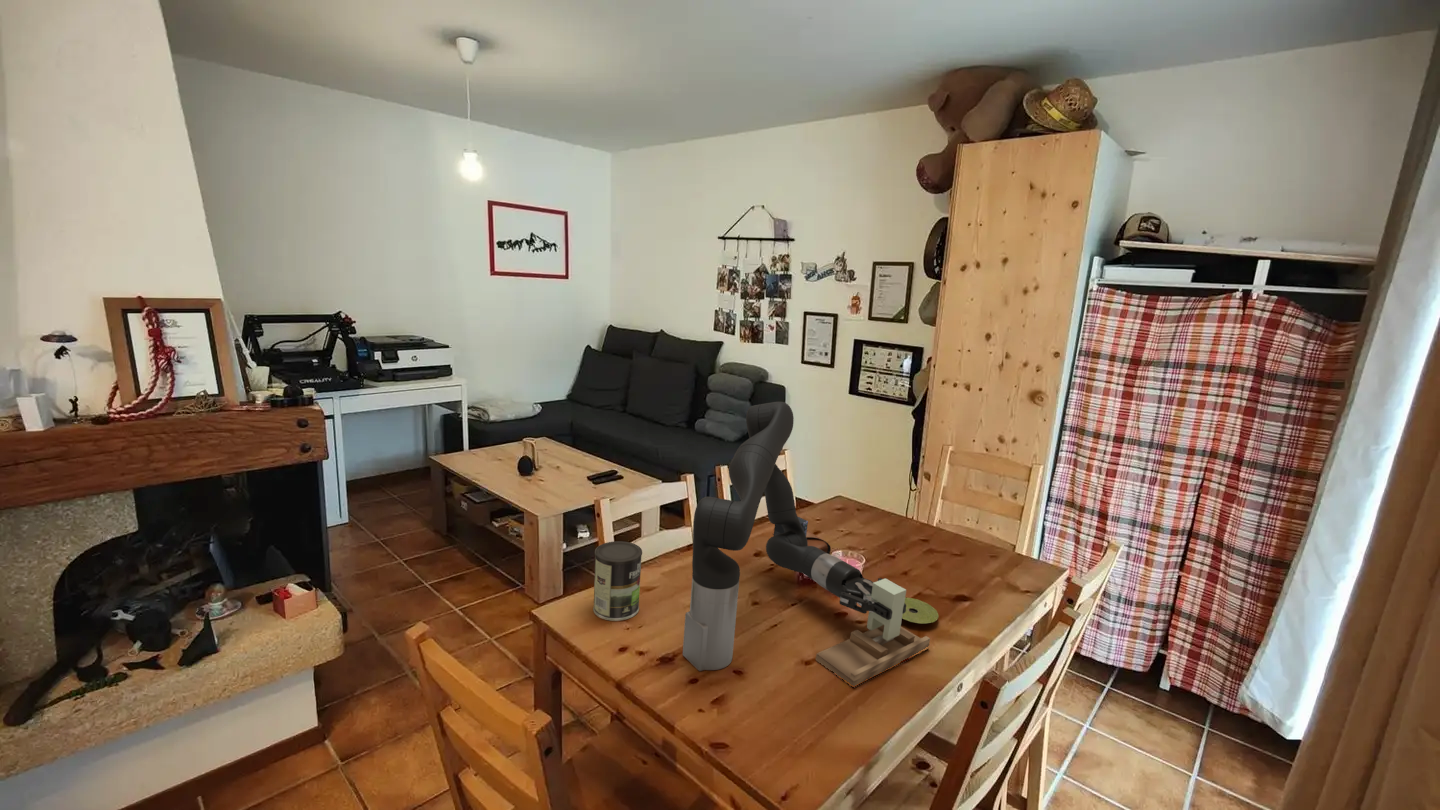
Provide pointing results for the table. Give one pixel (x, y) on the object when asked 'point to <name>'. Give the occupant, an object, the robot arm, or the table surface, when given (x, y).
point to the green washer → (919, 611)
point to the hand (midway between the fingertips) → (897, 612)
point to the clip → (893, 600)
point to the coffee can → (617, 580)
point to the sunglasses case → (817, 542)
